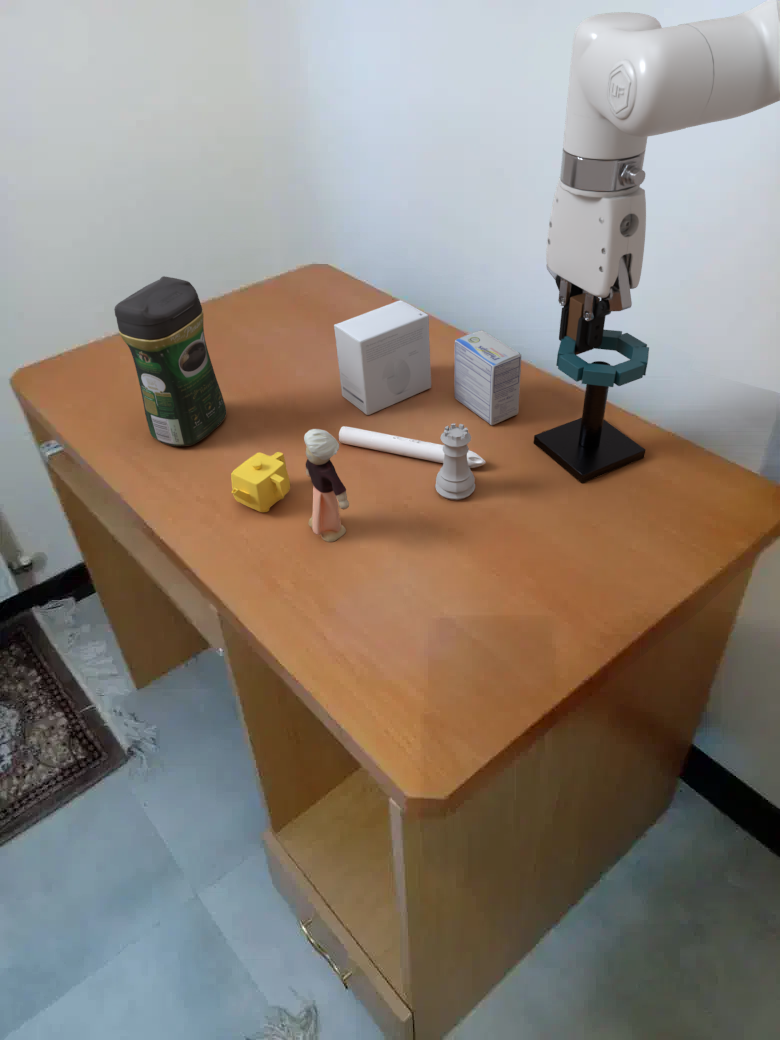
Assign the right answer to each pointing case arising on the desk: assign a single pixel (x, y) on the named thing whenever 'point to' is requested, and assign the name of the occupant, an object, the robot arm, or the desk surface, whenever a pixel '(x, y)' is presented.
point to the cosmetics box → (384, 356)
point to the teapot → (261, 481)
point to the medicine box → (487, 376)
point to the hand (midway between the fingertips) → (579, 342)
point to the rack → (590, 440)
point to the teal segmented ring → (610, 341)
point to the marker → (400, 445)
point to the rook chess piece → (455, 464)
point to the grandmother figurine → (325, 485)
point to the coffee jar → (172, 361)
